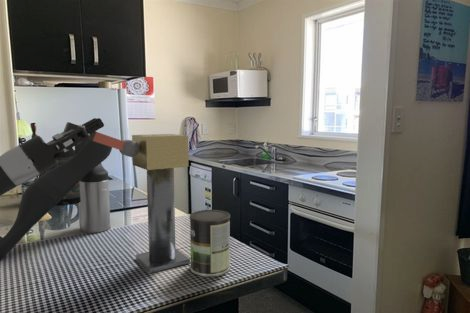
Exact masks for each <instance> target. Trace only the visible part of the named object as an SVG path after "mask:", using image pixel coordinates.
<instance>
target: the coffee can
mask: <svg viewBox="0 0 470 313" xmlns="http://www.w3.org/2000/svg"><path fill="white" fill-rule="evenodd" d="M230 219H231V214H230V213H229V212H228V211H224V210H221V209H202V210H197V211H194V212H192V213H190V214H189V220H190V221H189V226H190V227H189V228H190V230H189V231H190V232H189V234H190V238H189V239H190V268H189V270H190V271H191V272H192V273H193V274H194V275H197V276H200V277H207V278H211V277H218V276H221V275H222V276H223V275H224V274H226V273H228V272H229V271H230V270H231V269H230V268H231V265H230V262H231V261H230V260H231V258H230V255H231V254H230V253H231V251H230V250H231V248H230V245H231V244H230V242H231V238H230V237H231V235H230V234H231V232H230V231H231V230H230V228H231V220H230Z"/></svg>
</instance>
